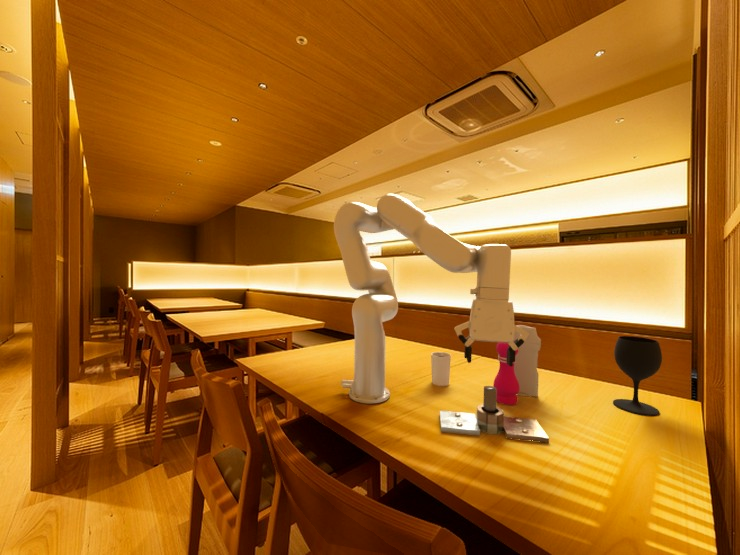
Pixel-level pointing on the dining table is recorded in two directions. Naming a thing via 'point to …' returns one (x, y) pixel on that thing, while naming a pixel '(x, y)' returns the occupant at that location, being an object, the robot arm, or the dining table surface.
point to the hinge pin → (490, 399)
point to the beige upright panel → (527, 362)
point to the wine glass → (637, 369)
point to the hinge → (492, 425)
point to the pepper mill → (506, 378)
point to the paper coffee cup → (440, 368)
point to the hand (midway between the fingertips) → (488, 363)
